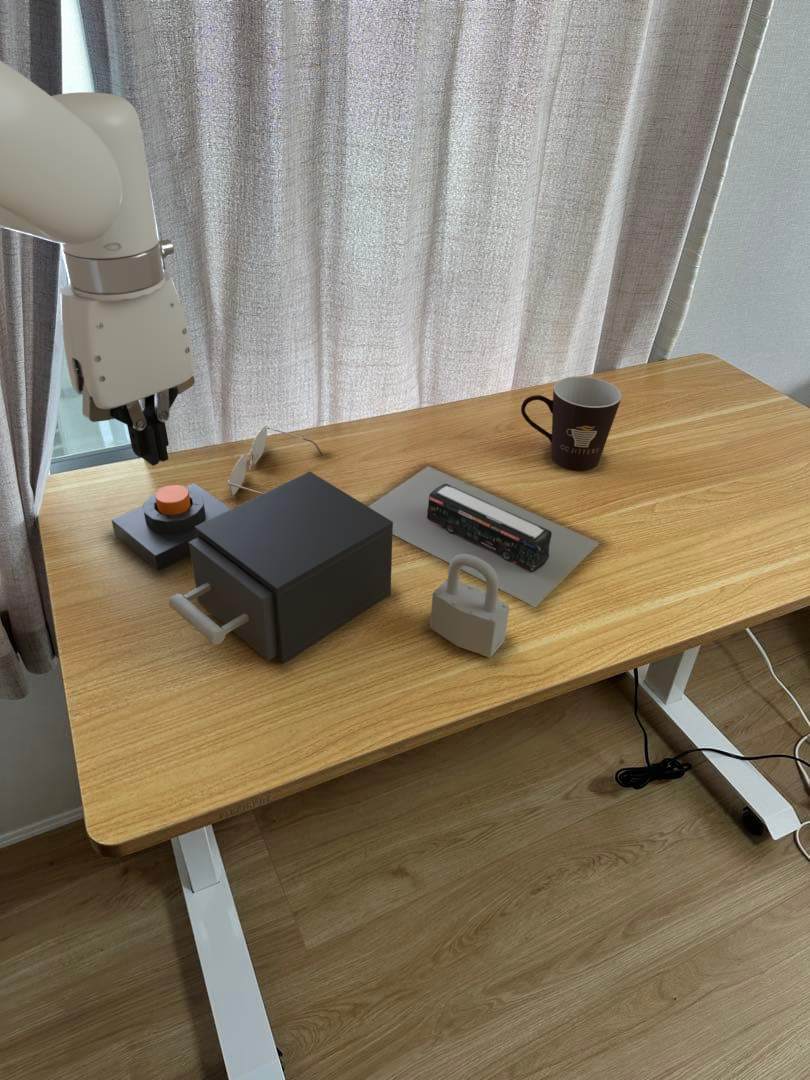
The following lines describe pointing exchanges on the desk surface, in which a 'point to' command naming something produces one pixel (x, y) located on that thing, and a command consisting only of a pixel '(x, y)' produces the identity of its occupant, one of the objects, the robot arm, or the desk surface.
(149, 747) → the desk surface
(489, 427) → the desk surface
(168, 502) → the button
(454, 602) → the padlock
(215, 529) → the dark grey cabinet
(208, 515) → the control block
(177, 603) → the drawer
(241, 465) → the eyeglasses
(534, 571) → the grey desk mat
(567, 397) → the coffee mug
